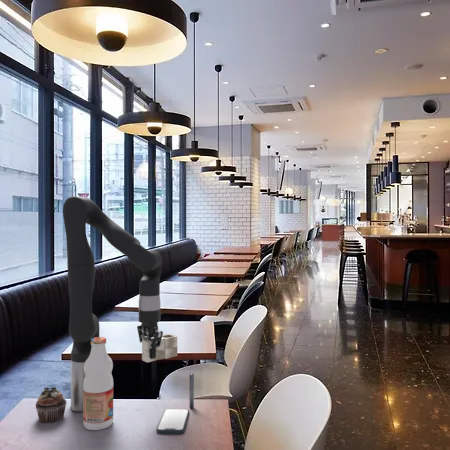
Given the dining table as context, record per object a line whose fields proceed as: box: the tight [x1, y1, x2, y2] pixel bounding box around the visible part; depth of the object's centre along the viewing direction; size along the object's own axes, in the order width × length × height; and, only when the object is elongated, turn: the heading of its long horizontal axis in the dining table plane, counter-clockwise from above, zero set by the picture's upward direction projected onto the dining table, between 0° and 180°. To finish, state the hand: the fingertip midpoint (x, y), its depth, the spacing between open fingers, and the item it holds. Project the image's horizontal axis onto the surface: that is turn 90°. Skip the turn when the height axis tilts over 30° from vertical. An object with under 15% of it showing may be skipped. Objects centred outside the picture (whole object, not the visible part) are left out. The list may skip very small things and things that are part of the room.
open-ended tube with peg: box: [141, 333, 178, 363], centre depth 150 cm, size 12×5×7 cm, turn 131°
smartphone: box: [156, 408, 190, 435], centre depth 139 cm, size 9×2×16 cm
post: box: [188, 372, 195, 409], centre depth 150 cm, size 2×2×12 cm
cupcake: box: [35, 386, 67, 424], centre depth 142 cm, size 10×10×10 cm
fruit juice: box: [82, 336, 114, 431], centre depth 138 cm, size 9×9×28 cm
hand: (149, 356), depth 147 cm, fingers closed on open-ended tube with peg, 3 cm apart
